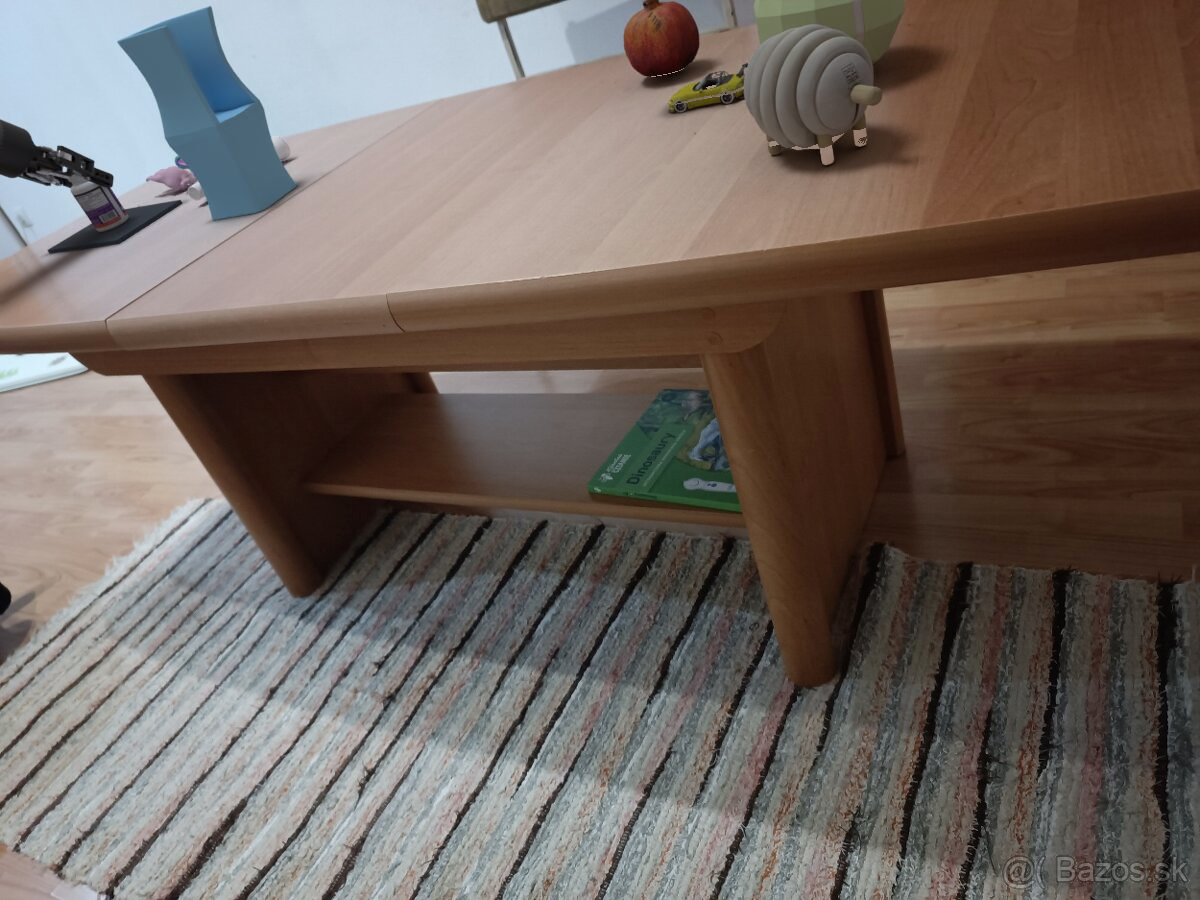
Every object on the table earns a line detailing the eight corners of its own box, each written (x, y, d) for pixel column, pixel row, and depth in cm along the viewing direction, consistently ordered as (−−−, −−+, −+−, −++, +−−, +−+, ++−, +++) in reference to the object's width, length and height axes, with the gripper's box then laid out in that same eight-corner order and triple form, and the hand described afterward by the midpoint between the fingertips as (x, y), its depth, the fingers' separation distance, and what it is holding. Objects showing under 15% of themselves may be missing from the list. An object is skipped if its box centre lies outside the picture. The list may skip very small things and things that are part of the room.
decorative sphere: (879, 98, 88) (864, -66, 80) (747, 111, 97) (720, -35, 88) (925, 46, 97) (915, -106, 89) (799, 63, 106) (779, -75, 97)
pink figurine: (232, 182, 150) (166, 181, 155) (218, 148, 146) (150, 148, 151) (208, 198, 145) (141, 196, 150) (193, 164, 142) (124, 162, 147)
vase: (261, 212, 123) (161, 27, 109) (212, 220, 127) (109, 43, 113) (301, 182, 130) (211, 5, 116) (253, 191, 134) (161, 21, 120)
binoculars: (296, 157, 145) (282, 130, 142) (240, 198, 133) (224, 169, 131) (248, 168, 149) (234, 141, 146) (190, 208, 137) (174, 180, 135)
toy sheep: (795, 122, 90) (778, 8, 84) (932, 136, 77) (924, 3, 71) (720, 164, 87) (696, 49, 80) (849, 186, 74) (833, 52, 67)
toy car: (675, 101, 108) (670, 76, 106) (754, 85, 104) (750, 60, 102) (664, 116, 104) (658, 91, 103) (746, 100, 100) (741, 74, 98)
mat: (49, 253, 141) (47, 250, 141) (113, 214, 151) (111, 211, 150) (119, 243, 133) (116, 240, 132) (182, 203, 142) (180, 199, 142)
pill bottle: (110, 221, 144) (73, 165, 138) (136, 214, 143) (99, 157, 137) (91, 235, 140) (52, 178, 134) (117, 228, 138) (79, 170, 133)
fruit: (709, 74, 113) (692, -8, 107) (635, 97, 115) (615, 17, 109) (700, 55, 122) (684, -22, 116) (632, 77, 123) (612, 2, 117)
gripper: (17, 108, 121) (130, 155, 136) (-39, 124, 128) (74, 167, 143) (11, 160, 120) (125, 202, 135) (-45, 173, 127) (70, 212, 142)
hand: (99, 184), depth 139 cm, fingers open, 5 cm apart
